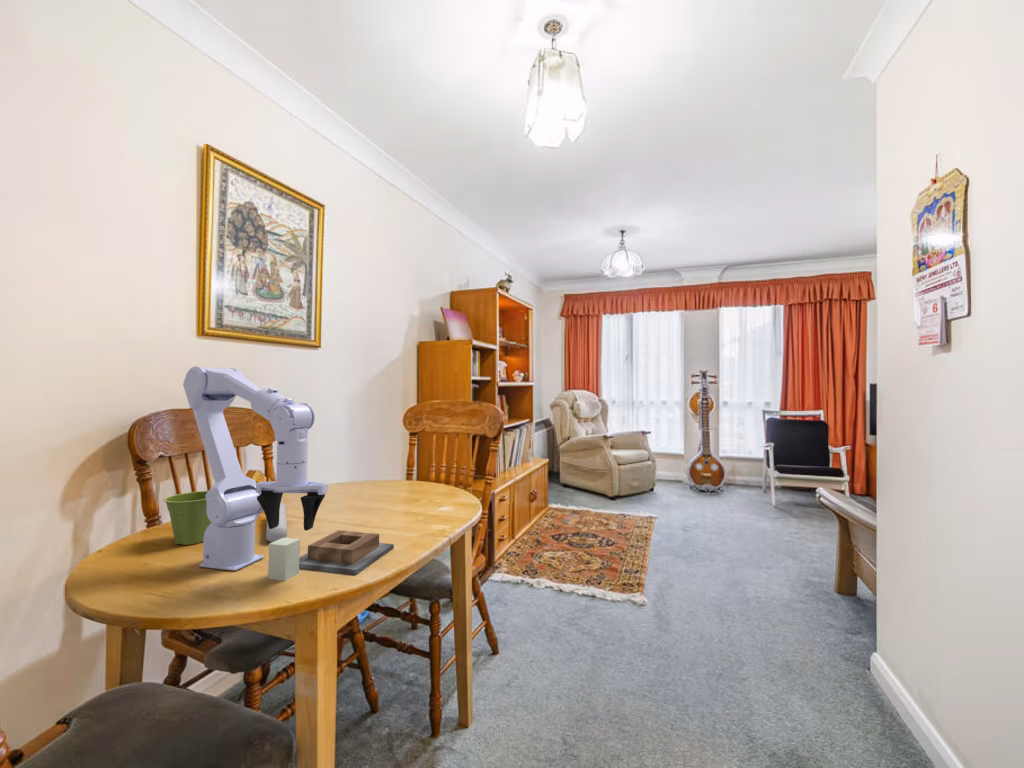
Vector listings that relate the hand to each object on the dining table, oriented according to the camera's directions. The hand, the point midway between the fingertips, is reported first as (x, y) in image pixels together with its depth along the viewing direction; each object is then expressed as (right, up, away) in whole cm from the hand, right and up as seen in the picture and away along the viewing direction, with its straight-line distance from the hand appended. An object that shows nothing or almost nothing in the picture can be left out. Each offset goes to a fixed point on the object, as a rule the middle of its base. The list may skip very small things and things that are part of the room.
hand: (291, 528), depth 91 cm
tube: (-18, -10, +29) cm, 36 cm away
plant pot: (-34, -10, +19) cm, 41 cm away
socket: (+7, -10, +10) cm, 16 cm away
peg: (-1, -10, -1) cm, 10 cm away
